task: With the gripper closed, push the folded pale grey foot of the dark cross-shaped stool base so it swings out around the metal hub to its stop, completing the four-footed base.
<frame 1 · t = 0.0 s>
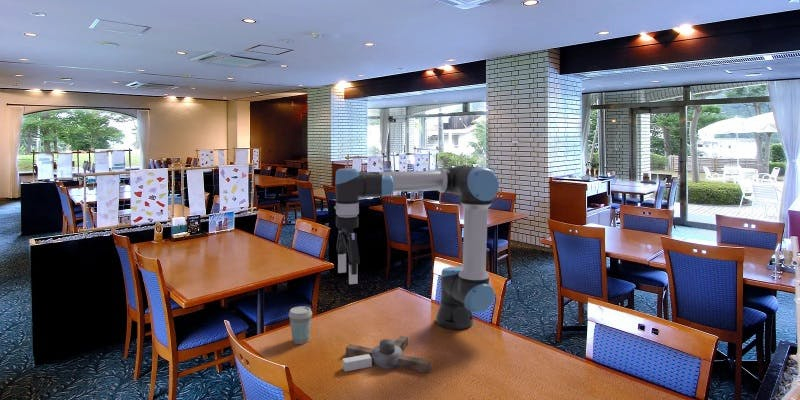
hand: (347, 277, 152), 28 cm above the table, tool pointing down, fingers open, 13 cm apart
stool base: (387, 362, 151), on the table
coffee cup: (300, 341, 167), on the table
folding leg: (357, 362, 147), point 2 cm above the table, hinge at 0.0°
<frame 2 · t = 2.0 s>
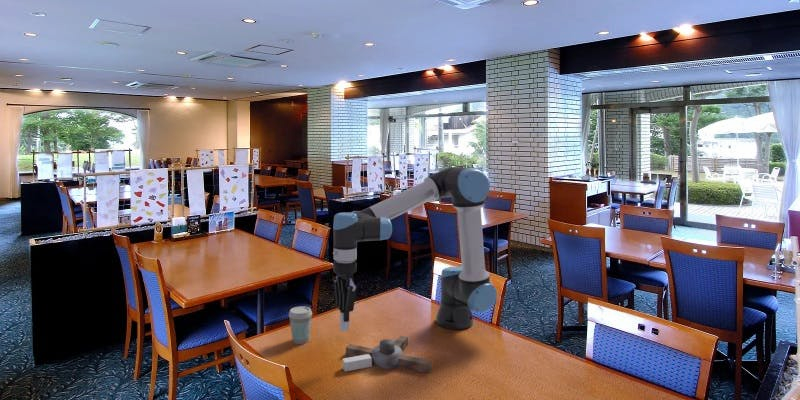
hand: (344, 329, 149), 12 cm above the table, tool pointing down, fingers closed
nothing on the table moved.
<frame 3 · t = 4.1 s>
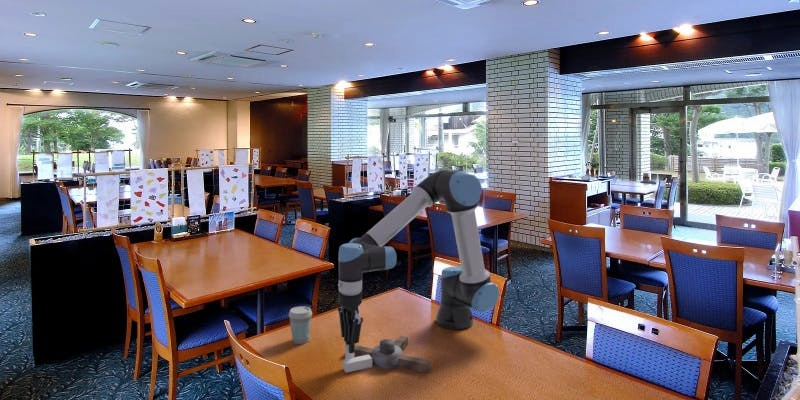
hand: (349, 360, 148), 2 cm above the table, tool pointing down, fingers closed
folding leg: (357, 363, 147), point 2 cm above the table, hinge at 3.1°, touching gripper
everything else where it was.
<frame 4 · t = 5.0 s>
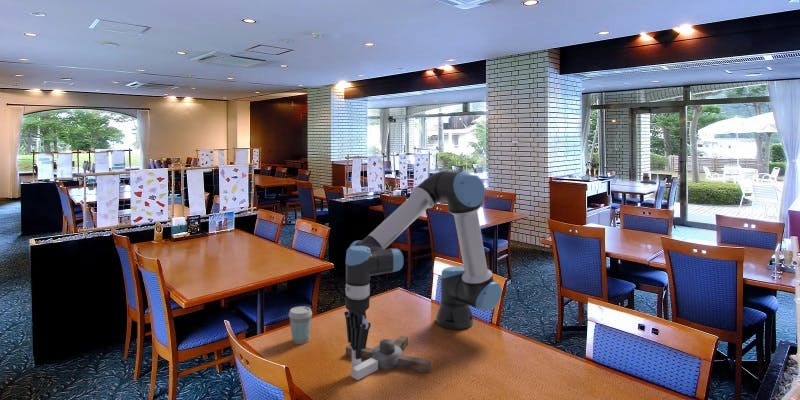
hand: (356, 366, 144), 2 cm above the table, tool pointing down, fingers closed
folding leg: (364, 368, 143), point 2 cm above the table, hinge at 26.6°, touching gripper
everything else where it was.
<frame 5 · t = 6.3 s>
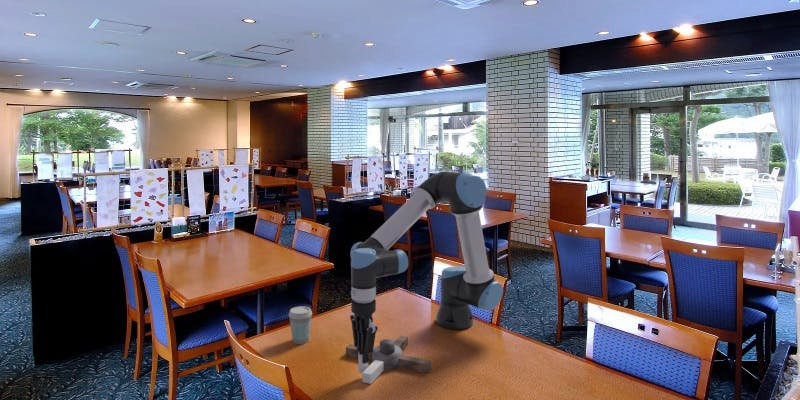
hand: (363, 371, 141), 2 cm above the table, tool pointing down, fingers closed
folding leg: (373, 371, 141), point 2 cm above the table, hinge at 44.6°, touching gripper
everything else where it was.
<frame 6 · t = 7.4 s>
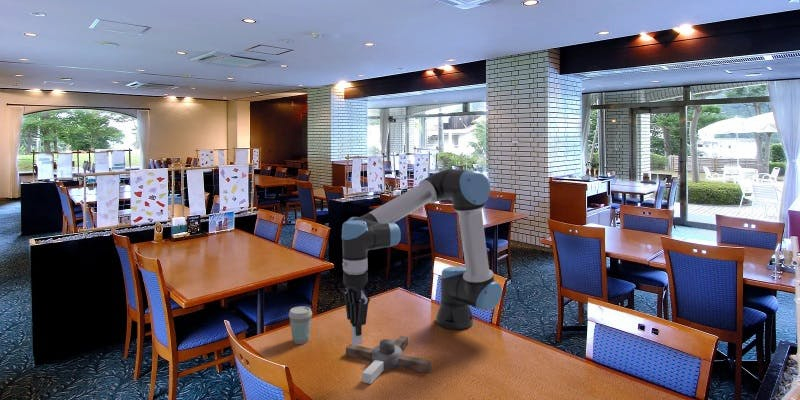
hand: (356, 343, 141), 10 cm above the table, tool pointing down, fingers closed
folding leg: (373, 371, 141), point 2 cm above the table, hinge at 44.6°
everything else where it was.
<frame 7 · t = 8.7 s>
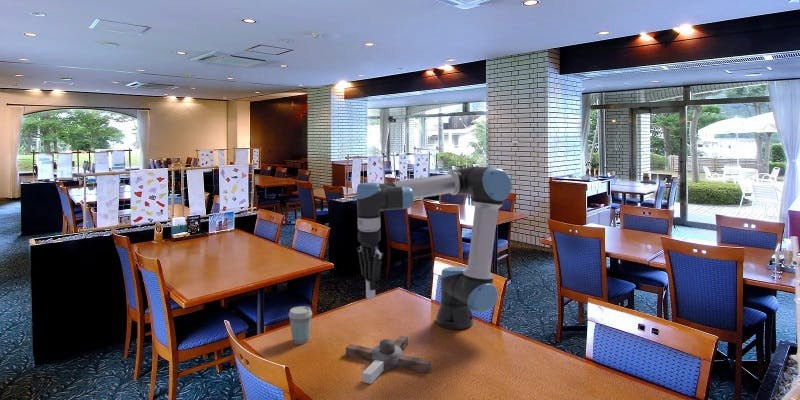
hand: (370, 298, 152), 21 cm above the table, tool pointing down, fingers closed
nothing on the table moved.
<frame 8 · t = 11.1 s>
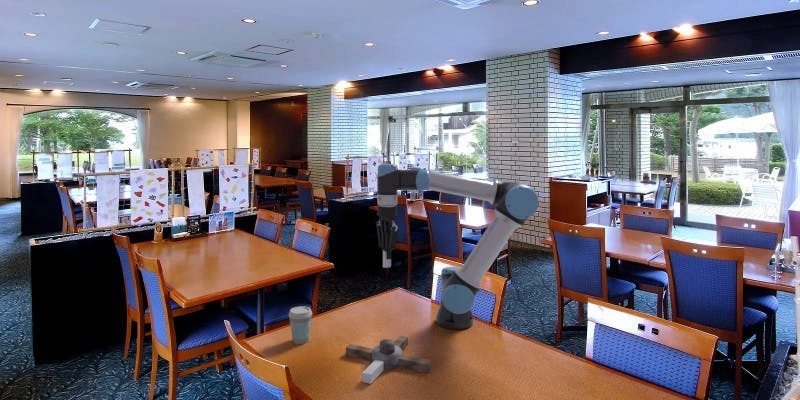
hand: (386, 266, 171), 26 cm above the table, tool pointing down, fingers closed
nothing on the table moved.
at the end: folding leg at +45° (first picture: +0°); coffee cup moved 0.2 cm from its start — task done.
